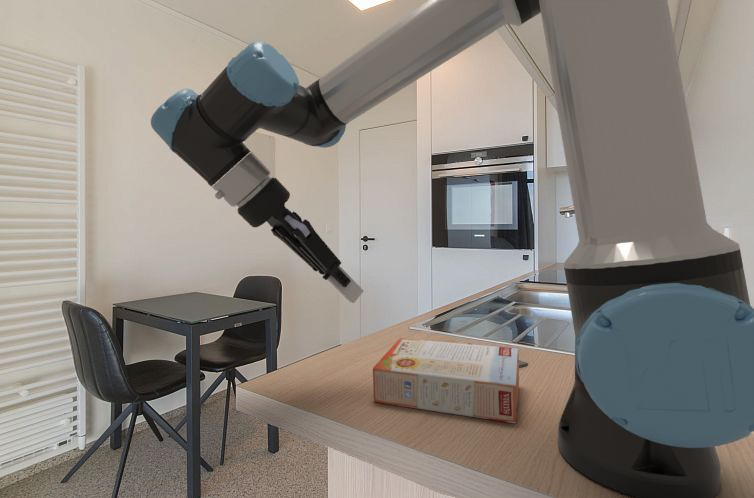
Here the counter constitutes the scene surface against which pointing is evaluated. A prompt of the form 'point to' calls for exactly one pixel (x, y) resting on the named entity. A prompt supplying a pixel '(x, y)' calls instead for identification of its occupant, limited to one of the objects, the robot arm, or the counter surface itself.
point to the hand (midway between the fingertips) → (356, 296)
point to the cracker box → (450, 378)
